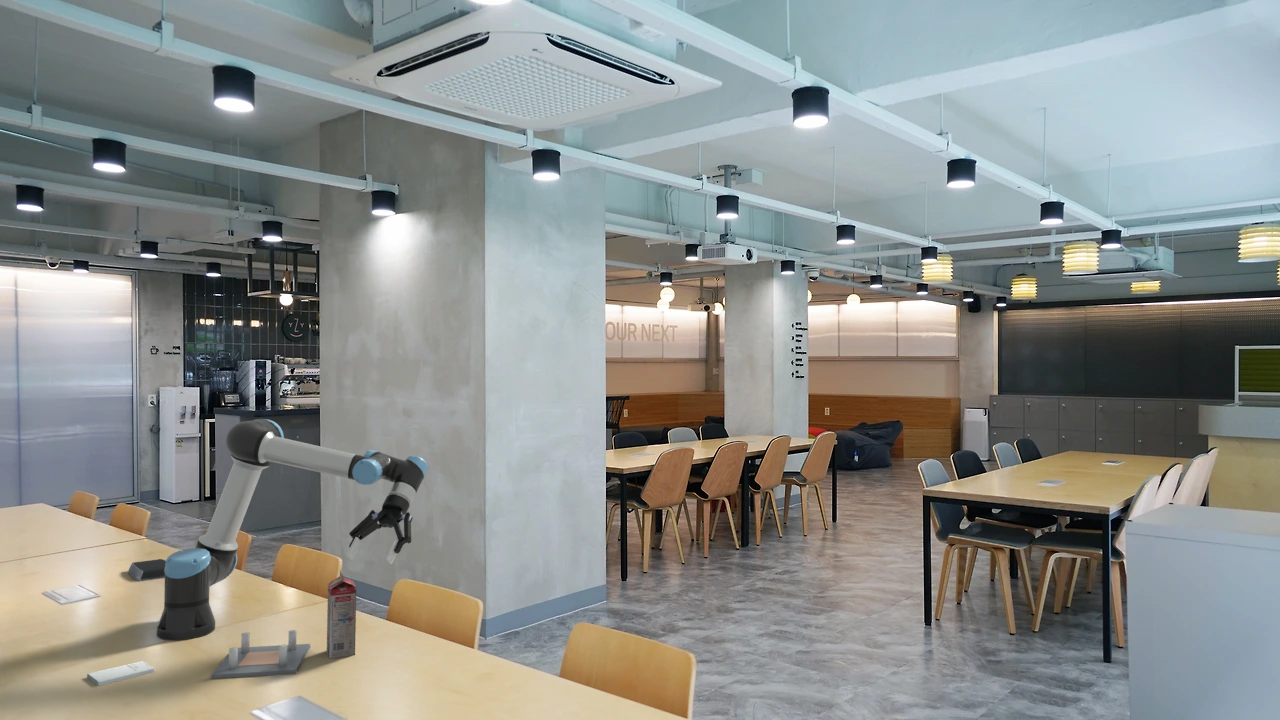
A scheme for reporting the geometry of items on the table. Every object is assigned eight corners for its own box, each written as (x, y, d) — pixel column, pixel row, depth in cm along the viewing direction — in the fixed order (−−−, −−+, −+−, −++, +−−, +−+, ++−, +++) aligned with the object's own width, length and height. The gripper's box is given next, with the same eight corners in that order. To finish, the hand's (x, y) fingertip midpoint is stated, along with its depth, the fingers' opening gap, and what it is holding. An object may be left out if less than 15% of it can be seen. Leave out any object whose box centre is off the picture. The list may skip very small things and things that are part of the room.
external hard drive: (136, 583, 292) (136, 571, 292) (126, 572, 307) (126, 561, 307) (177, 577, 301) (177, 566, 301) (165, 567, 315) (165, 556, 315)
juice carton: (329, 658, 218) (331, 577, 219) (326, 650, 224) (328, 571, 225) (355, 654, 221) (356, 574, 222) (351, 647, 227) (353, 569, 228)
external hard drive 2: (86, 679, 202) (141, 666, 212) (98, 688, 197) (154, 673, 207) (87, 673, 202) (142, 659, 212) (98, 681, 197) (154, 667, 207)
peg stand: (211, 678, 203) (211, 654, 203) (233, 651, 222) (233, 629, 223) (295, 673, 207) (296, 650, 207) (310, 647, 227) (310, 625, 227)
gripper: (438, 509, 247) (410, 570, 233) (369, 505, 255) (338, 564, 240) (429, 495, 242) (400, 555, 228) (359, 491, 250) (326, 550, 235)
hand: (368, 560), depth 234 cm, fingers open, 13 cm apart
